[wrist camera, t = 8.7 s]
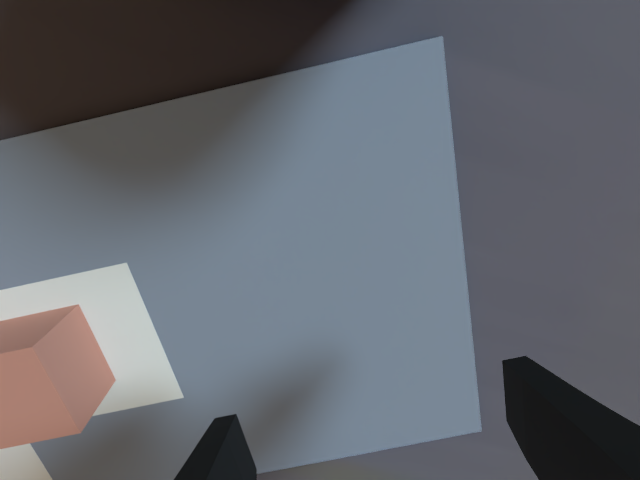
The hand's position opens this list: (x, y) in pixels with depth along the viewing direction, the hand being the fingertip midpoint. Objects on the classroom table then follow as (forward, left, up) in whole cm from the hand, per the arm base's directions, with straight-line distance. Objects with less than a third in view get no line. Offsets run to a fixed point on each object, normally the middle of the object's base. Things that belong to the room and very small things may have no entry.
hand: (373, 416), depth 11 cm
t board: (0, +10, -7) cm, 12 cm away
